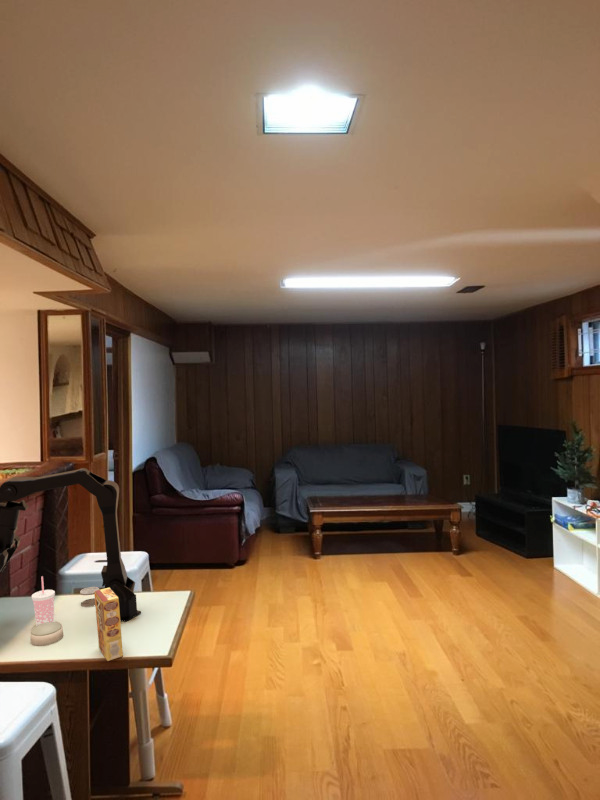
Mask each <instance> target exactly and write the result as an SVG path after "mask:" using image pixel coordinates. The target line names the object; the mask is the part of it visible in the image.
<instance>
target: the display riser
mask: <svg viewBox="0 0 600 800" xmlns="http://www.w3.org/2000/svg"><path fill="white" fill-rule="evenodd" d="M29 633H30V634H29V635H30V636H29V637H30V644H31V645H32V646H36V647H42V646H43V647H44V646H49V645H53V644H55V643H56V642H57V643H58V642H59V641H61V640H62V638H64V630H63V624H62V623H61V622H59V621H54V622H46V623H42V624H39V625H35V626H33V628H31V629H30V632H29Z"/></svg>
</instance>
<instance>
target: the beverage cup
mask: <svg viewBox="0 0 600 800" xmlns="http://www.w3.org/2000/svg"><path fill="white" fill-rule="evenodd" d="M40 577H41V578H40V579H41V581H40V582H41V590H39V591H36V592H34V593H32V594H31V600H32V603H33V609H34V616H35V623H36V624H35V626H37V625H39V624H42V623H46V622H55V595H56V591H55V590H53V589H45V586H44V584H45V583H44V576H43V575H42V576H40Z"/></svg>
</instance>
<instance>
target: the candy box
mask: <svg viewBox="0 0 600 800" xmlns="http://www.w3.org/2000/svg"><path fill="white" fill-rule="evenodd" d="M94 593H95V594H94V598H95V606H94V607H95V616H96V617H95V618H96V630H97V641H98V649H99V651H100V652H101V653H102V655H103V657H104V658H105V660H106V661H107V662H109V661H113V660H115V659H118V658H121V657H123V656H124V652H123V651H124V650H123V639H122V638H123V637H122V625H121V621H120V609H119V598H118V596H117V595H116V594H115V593H114V592H113V591H112V590H111V589H110V588H105V587H104V588H102V589H99V590H97V591H94Z"/></svg>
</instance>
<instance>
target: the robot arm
mask: <svg viewBox="0 0 600 800" xmlns="http://www.w3.org/2000/svg"><path fill="white" fill-rule="evenodd" d="M74 485H80V486H81V487H83V488H84V489H85V490H86V491H87V492H89V493H90V494H91V495H93V496H94V497H95V499H96V501H97V504H98V508H99V510H100V512H101V515H102V523H103V531H104V532H103V533H104V535H103V536H104V542H105V544H104V545H105V553H106V554H105V555H106V565H103V566H102V569H101V571H100V575H101V577H102V585H101V587H104V589H105V588H110V589H111V590H112V591H113V592H114V593H115V594H116V595H117V596H118V598H119V609H120V622H125V623H126V622H128V621H130V620H132V619H134V618H135V617H137V616H139V615H141V613H142V611H141V610H138V603H137V593H136V594H135V591H134V590H135V586H136V585H135V584H136V582H135V581H134V580H133V579H131V578H130V577H129V575H128V574H127V570H126V567H125V563H124V561H123V559H122V553H121V545H120V544H121V542H120V533H119V522H118V521H119V520H118V505H119V499H120V498H119V496H120V495H119V494H120V487H119V485H118V483H116V482H115V481H113V480H110V479H109V480H107V479H105V478H104V477H102V476H100V475H98V474H96V473H94V472H92V471H90V470H89V469H87V467H86V468H85V467H81V468H79V469H74V470H70V471H69V470H68V471H64V472H59V473H54V474H53V473H52V474H49V475H42V476H37V477H35V476H34V477H32V476H30V477H29V476H14V477H11V478H8V479H7V480H6V481H5V482H3V483H2V484H1V485H0V574H2V573H3V571H4V569H5V568H6V567H7V565H8V563H9V561H10V560H11V558H13V556H14V555H15V552H16V551H17V550H18V547H19V546H20V543H21V537H20V536H19V535H18V534H16V533H17V532H18V529H19V525H18V521H19V517H20V513H21V512H20V511H25V512H26V510H28V509H29V507H30V506H29V505H28V504H27V503H26V501H25V499H23V498H26V497H28V496H31V495H33V494H35V493H39V492H43V491H49V490H54V489H59V488H63V487H64V488H65V487H69V486H74ZM21 499H22V500H21ZM17 500H21V501H17Z"/></svg>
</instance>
